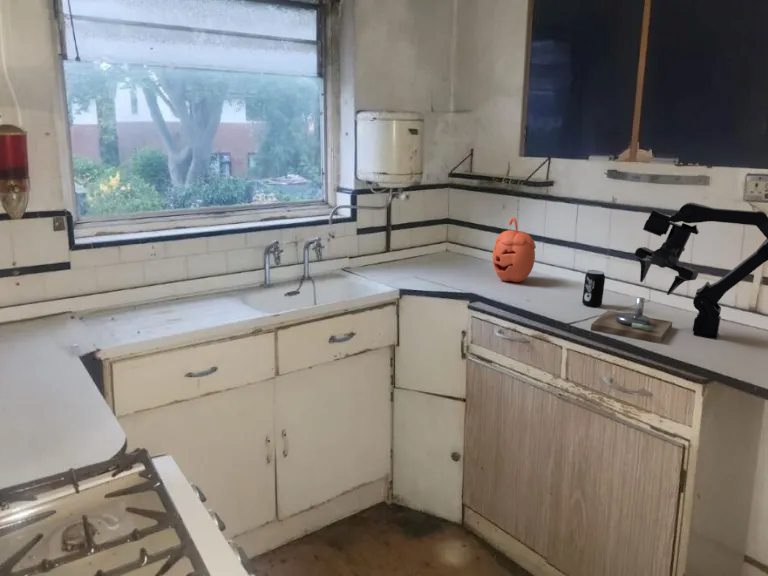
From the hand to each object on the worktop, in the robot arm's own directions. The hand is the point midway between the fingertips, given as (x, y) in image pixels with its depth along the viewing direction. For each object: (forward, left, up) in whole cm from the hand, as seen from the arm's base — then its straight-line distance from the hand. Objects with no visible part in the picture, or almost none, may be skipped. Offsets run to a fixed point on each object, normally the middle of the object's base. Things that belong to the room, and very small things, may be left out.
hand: (654, 288), depth 212 cm
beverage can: (+22, -13, -12) cm, 28 cm away
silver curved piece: (+4, +6, -10) cm, 12 cm away
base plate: (+4, +8, -12) cm, 15 cm away
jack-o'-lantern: (+58, -30, -12) cm, 66 cm away
